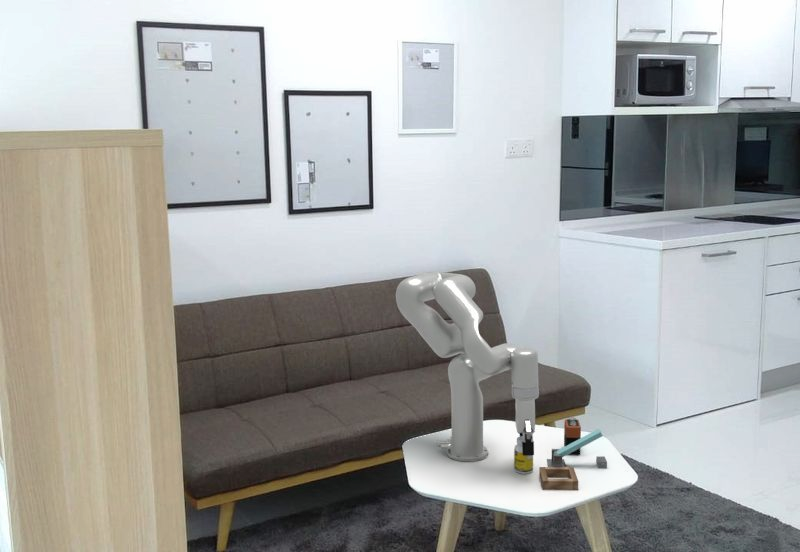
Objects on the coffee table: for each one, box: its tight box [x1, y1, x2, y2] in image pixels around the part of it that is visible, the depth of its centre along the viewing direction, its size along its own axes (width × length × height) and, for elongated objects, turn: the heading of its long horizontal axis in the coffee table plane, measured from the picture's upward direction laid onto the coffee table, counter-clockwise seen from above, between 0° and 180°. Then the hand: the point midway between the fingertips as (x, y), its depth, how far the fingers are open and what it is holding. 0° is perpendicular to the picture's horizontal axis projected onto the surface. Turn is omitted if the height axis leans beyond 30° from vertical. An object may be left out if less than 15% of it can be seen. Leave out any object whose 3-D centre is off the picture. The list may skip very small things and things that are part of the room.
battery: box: [563, 416, 582, 456], centre depth 258 cm, size 4×7×10 cm, turn 174°
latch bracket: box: [546, 448, 608, 469], centre depth 248 cm, size 17×6×4 cm, turn 87°
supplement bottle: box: [513, 435, 534, 475], centre depth 245 cm, size 5×5×10 cm
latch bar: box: [553, 428, 603, 458], centre depth 247 cm, size 15×3×2 cm, turn 86°
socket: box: [538, 466, 579, 491], centre depth 237 cm, size 10×10×2 cm
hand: (526, 448), depth 244 cm, fingers open, 9 cm apart
